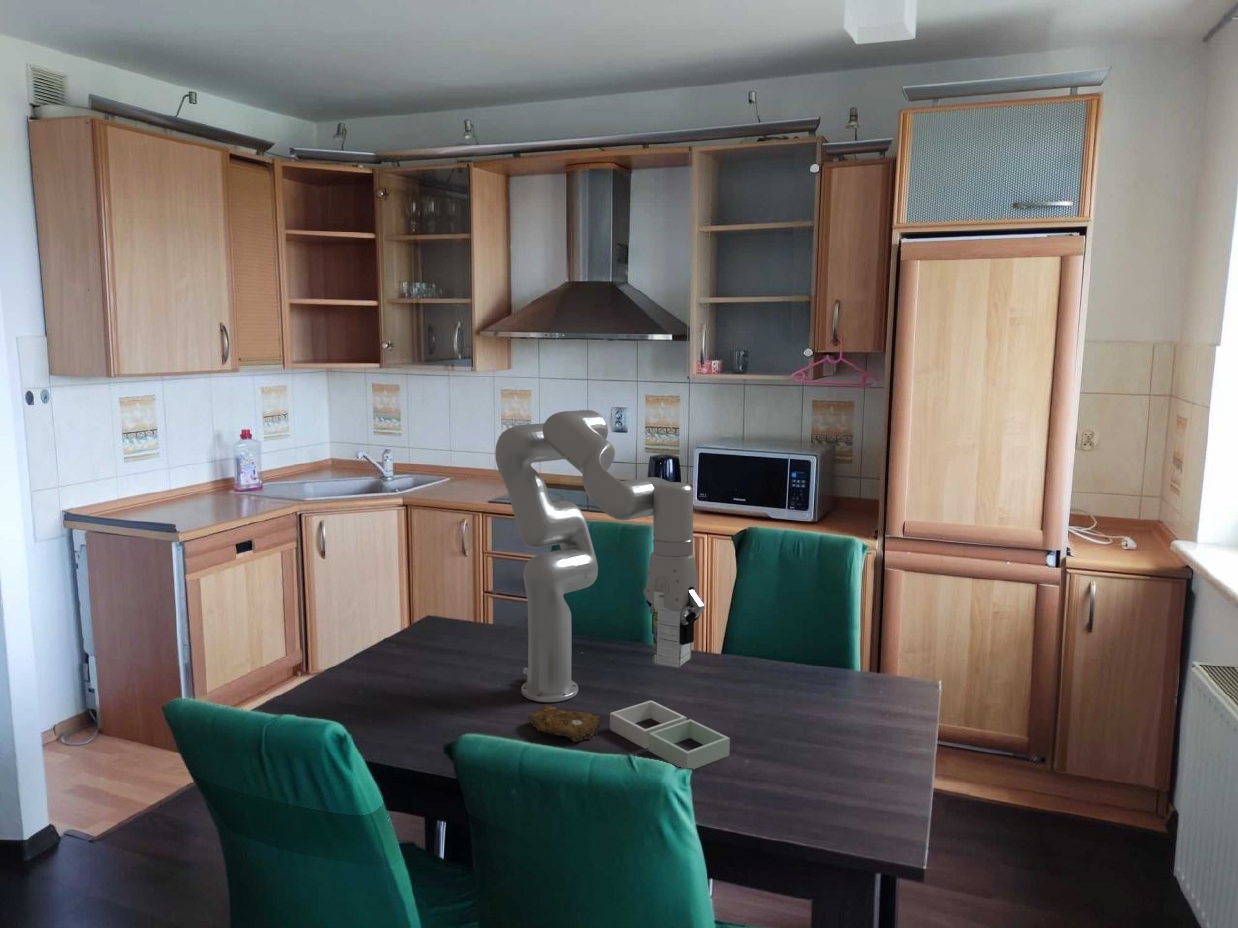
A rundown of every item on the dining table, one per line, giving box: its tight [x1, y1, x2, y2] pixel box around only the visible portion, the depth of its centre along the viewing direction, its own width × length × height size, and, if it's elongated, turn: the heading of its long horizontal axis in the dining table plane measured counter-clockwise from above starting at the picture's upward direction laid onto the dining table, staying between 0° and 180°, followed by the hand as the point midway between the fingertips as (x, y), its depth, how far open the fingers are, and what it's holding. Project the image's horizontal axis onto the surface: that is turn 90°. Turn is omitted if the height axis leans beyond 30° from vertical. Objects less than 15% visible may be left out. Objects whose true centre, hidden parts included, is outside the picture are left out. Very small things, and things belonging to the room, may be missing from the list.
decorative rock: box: [527, 705, 601, 743], centre depth 184 cm, size 11×4×15 cm
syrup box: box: [652, 590, 692, 669], centre depth 176 cm, size 6×6×14 cm
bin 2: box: [648, 718, 731, 770], centre depth 175 cm, size 11×11×4 cm
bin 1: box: [609, 699, 688, 749], centre depth 184 cm, size 11×11×4 cm
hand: (672, 637), depth 176 cm, fingers closed on syrup box, 7 cm apart
